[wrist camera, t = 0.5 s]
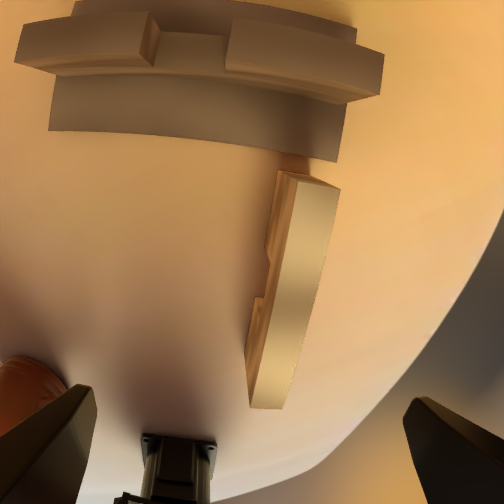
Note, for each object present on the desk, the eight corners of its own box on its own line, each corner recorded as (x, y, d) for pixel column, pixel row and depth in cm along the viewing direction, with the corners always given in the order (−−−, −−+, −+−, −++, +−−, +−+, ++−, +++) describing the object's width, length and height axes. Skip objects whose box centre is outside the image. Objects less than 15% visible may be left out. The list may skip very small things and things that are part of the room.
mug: (40, 423, 23) (5, 503, 13) (-17, 353, 20) (-74, 428, 10) (134, 407, 22) (109, 518, 12) (70, 319, 19) (-1, 427, 10)
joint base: (332, 161, 17) (377, 173, 12) (54, 130, 15) (-5, 133, 10) (352, 32, 15) (399, -2, 9) (80, 5, 13) (35, -31, 7)
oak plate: (270, 356, 21) (282, 409, 16) (244, 354, 21) (249, 408, 16) (309, 175, 17) (340, 189, 13) (278, 169, 17) (298, 181, 12)
